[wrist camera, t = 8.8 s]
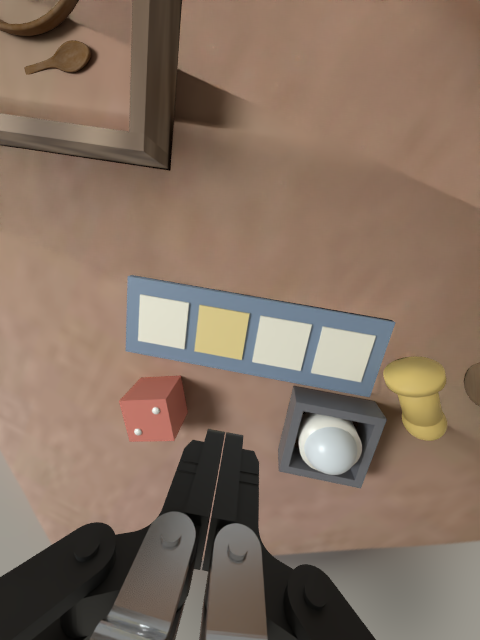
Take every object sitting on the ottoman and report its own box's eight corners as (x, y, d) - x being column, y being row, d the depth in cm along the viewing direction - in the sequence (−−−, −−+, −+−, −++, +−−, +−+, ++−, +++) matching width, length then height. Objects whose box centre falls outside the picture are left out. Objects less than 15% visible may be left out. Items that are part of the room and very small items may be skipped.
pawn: (388, 356, 26) (403, 412, 28) (378, 387, 23) (396, 447, 25) (445, 356, 23) (457, 419, 25) (443, 392, 20) (456, 460, 22)
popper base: (374, 401, 26) (386, 419, 24) (352, 465, 29) (360, 488, 26) (293, 385, 27) (296, 401, 24) (277, 450, 29) (278, 471, 26)
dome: (359, 410, 26) (378, 446, 22) (344, 455, 28) (359, 497, 23) (303, 399, 27) (310, 432, 22) (291, 444, 28) (295, 484, 24)
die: (181, 375, 28) (165, 399, 23) (187, 411, 29) (173, 441, 25) (141, 377, 28) (118, 401, 24) (149, 413, 30) (129, 442, 25)
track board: (391, 320, 24) (396, 323, 23) (366, 392, 26) (370, 398, 25) (132, 275, 25) (126, 276, 24) (129, 347, 27) (124, 351, 26)
